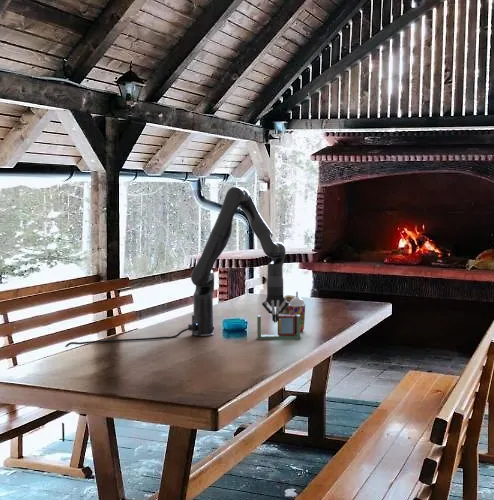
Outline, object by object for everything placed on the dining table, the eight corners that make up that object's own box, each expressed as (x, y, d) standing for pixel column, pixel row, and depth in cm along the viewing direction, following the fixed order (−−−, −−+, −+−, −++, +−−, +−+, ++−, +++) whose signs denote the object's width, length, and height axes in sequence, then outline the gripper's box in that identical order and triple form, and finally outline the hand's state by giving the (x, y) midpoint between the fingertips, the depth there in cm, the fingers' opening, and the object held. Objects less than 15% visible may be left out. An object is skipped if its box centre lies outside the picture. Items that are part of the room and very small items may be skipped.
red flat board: (294, 336, 341) (294, 317, 340) (277, 336, 340) (277, 317, 339) (294, 335, 345) (294, 315, 344) (277, 335, 344) (277, 315, 344)
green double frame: (300, 339, 344) (300, 316, 343) (257, 339, 343) (257, 316, 342) (299, 337, 348) (299, 314, 347) (257, 337, 347) (257, 314, 346)
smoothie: (303, 333, 357) (303, 293, 355) (286, 333, 358) (286, 292, 357) (307, 330, 365) (306, 290, 363) (290, 330, 367) (290, 290, 365)
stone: (276, 309, 430) (276, 292, 429) (296, 309, 431) (296, 292, 430) (277, 314, 413) (277, 296, 412) (298, 314, 414) (298, 296, 413)
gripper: (289, 284, 343) (289, 320, 344) (261, 284, 342) (261, 321, 344) (289, 286, 335) (289, 323, 337) (260, 286, 335) (261, 323, 336)
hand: (275, 322), depth 340 cm, fingers closed
